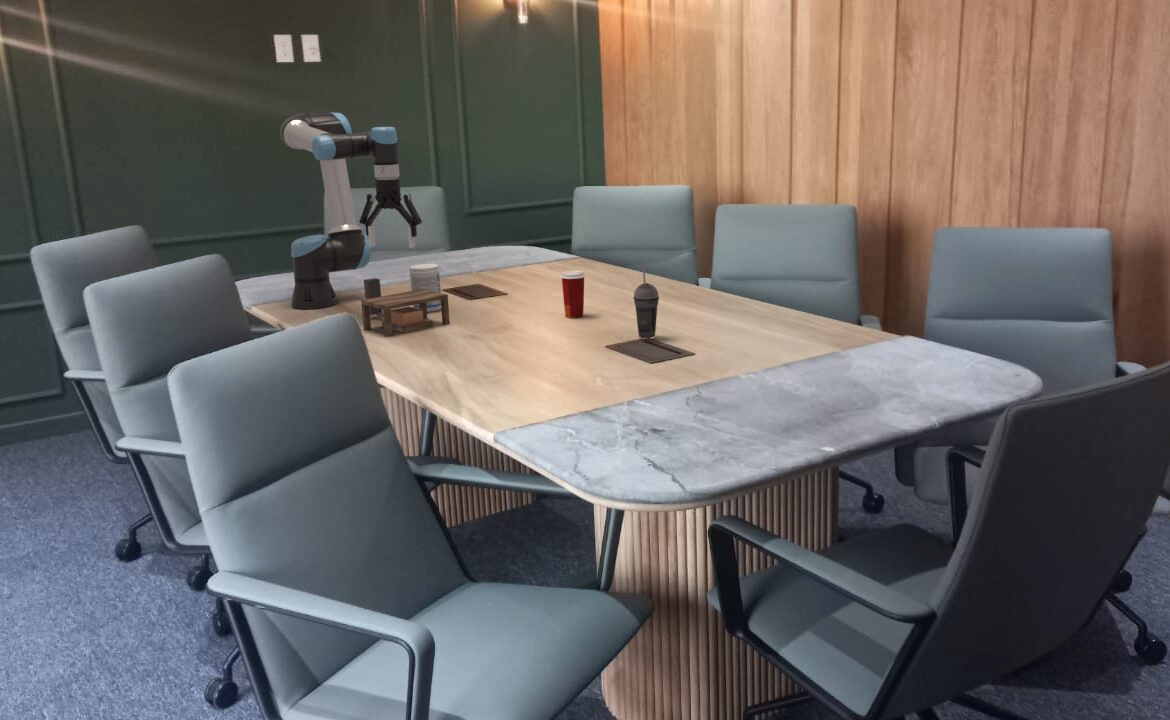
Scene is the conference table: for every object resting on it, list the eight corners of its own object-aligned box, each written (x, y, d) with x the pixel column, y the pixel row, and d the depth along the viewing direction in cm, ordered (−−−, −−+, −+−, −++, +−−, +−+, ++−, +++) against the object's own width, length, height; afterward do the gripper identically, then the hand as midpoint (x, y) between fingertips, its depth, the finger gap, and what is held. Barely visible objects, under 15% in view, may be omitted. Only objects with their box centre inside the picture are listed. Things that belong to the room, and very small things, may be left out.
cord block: (363, 318, 324) (359, 280, 321) (382, 314, 329) (378, 277, 325) (404, 329, 306) (401, 290, 303) (423, 325, 311) (420, 286, 308)
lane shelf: (363, 329, 310) (361, 300, 307) (424, 317, 324) (422, 289, 321) (388, 336, 299) (385, 306, 297) (449, 323, 314) (447, 294, 311)
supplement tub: (446, 310, 333) (443, 266, 329) (420, 314, 328) (417, 269, 324) (434, 305, 341) (431, 262, 337) (408, 309, 336) (404, 265, 332)
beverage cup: (642, 341, 283) (641, 271, 278) (629, 336, 290) (627, 267, 284) (664, 338, 287) (663, 268, 281) (651, 333, 293) (650, 264, 288)
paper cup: (590, 314, 320) (589, 270, 316) (580, 319, 313) (578, 275, 310) (568, 313, 323) (566, 269, 319) (557, 318, 316) (555, 273, 313)
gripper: (344, 179, 312) (350, 247, 318) (419, 179, 306) (424, 249, 311) (356, 176, 319) (362, 243, 325) (429, 177, 312) (433, 245, 318)
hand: (392, 246), depth 318 cm, fingers open, 13 cm apart
